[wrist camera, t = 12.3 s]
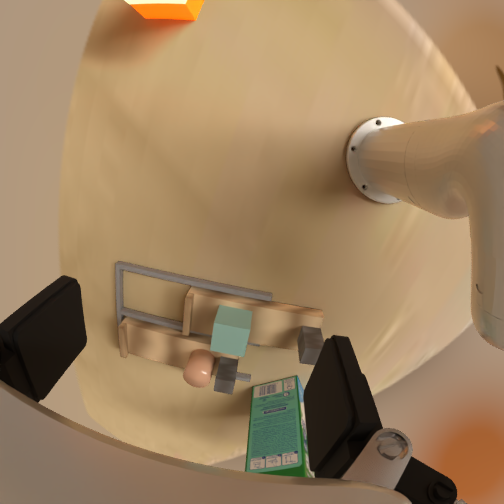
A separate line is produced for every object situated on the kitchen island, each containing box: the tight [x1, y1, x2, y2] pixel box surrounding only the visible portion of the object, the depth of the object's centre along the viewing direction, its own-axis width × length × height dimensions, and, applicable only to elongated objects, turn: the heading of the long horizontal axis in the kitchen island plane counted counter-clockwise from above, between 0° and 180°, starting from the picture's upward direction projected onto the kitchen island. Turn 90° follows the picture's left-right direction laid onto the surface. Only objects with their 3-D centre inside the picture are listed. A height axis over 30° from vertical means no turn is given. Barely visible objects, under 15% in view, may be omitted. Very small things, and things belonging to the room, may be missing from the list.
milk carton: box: [245, 376, 315, 478], centre depth 41 cm, size 9×9×25 cm
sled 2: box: [182, 286, 324, 365], centre depth 43 cm, size 21×7×8 cm, turn 79°
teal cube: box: [210, 305, 252, 357], centre depth 42 cm, size 5×5×5 cm
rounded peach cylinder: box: [183, 349, 215, 388], centre depth 45 cm, size 4×4×5 cm
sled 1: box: [118, 316, 239, 394], centre depth 45 cm, size 21×7×8 cm, turn 79°
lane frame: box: [116, 261, 272, 382], centre depth 47 cm, size 26×19×1 cm
